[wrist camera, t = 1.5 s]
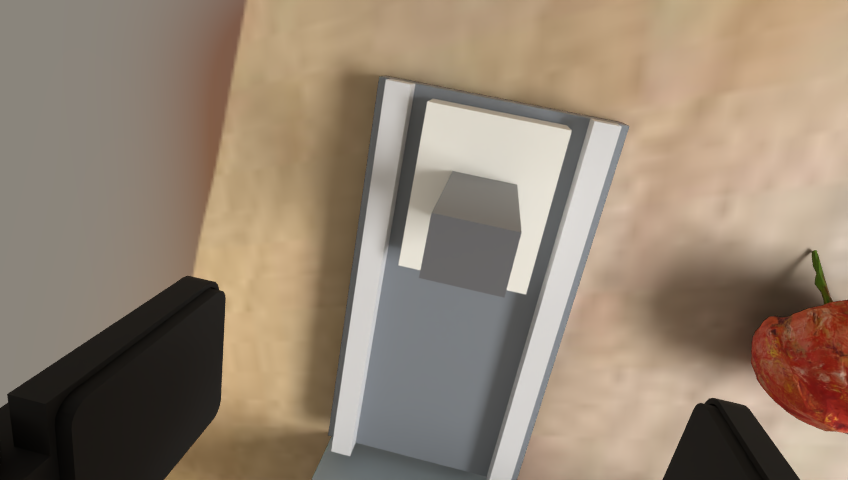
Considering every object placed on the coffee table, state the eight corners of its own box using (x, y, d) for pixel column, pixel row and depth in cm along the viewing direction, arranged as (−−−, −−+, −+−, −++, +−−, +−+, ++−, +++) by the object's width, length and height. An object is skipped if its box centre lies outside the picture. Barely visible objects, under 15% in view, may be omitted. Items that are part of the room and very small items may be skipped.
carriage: (433, 98, 24) (395, 116, 16) (566, 125, 24) (599, 159, 15) (405, 251, 27) (360, 335, 19) (524, 278, 27) (533, 377, 18)
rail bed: (386, 75, 26) (373, 76, 23) (622, 122, 25) (635, 129, 23) (335, 420, 34) (321, 448, 31) (514, 466, 33) (515, 499, 30)
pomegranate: (707, 265, 29) (730, 455, 26) (795, 220, 22) (842, 473, 19) (841, 272, 29) (880, 464, 26) (972, 229, 22) (1048, 485, 19)
